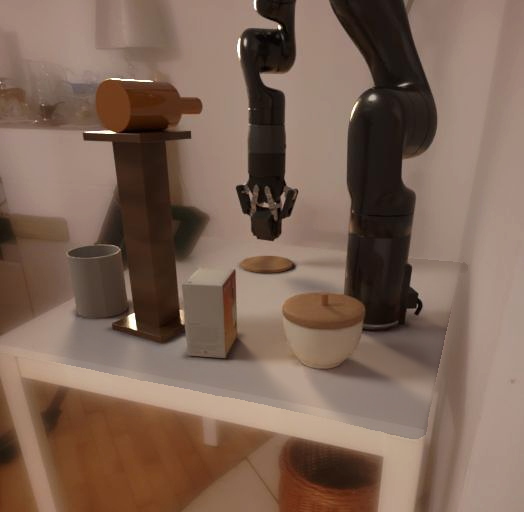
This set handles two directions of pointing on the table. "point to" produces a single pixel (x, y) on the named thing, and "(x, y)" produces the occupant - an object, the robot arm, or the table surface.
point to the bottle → (142, 105)
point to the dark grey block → (262, 223)
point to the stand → (147, 230)
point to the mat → (267, 264)
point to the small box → (210, 311)
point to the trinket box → (322, 327)
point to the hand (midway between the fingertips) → (266, 236)
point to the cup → (98, 280)
